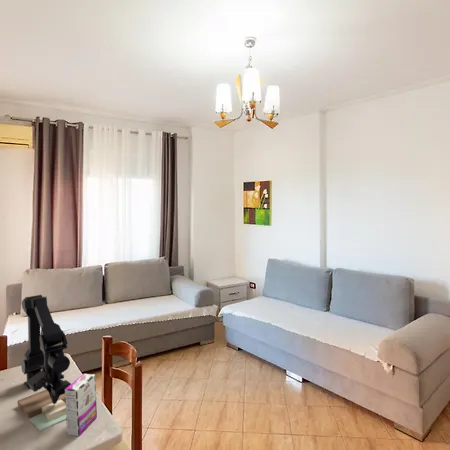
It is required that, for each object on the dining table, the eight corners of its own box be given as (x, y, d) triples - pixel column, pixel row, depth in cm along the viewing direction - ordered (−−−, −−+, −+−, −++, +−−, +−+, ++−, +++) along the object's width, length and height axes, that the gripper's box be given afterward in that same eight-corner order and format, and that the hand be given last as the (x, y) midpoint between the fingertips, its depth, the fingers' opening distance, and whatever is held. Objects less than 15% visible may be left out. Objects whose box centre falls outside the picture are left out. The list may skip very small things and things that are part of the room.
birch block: (42, 413, 131) (41, 407, 131) (61, 405, 136) (60, 399, 136) (49, 421, 126) (49, 414, 126) (69, 412, 131) (69, 406, 131)
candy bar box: (85, 415, 130) (83, 372, 129) (97, 417, 129) (96, 374, 128) (65, 435, 119) (64, 388, 118) (78, 437, 118) (77, 390, 117)
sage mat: (29, 419, 128) (29, 418, 128) (72, 400, 140) (72, 399, 140) (40, 431, 121) (40, 430, 121) (85, 410, 133) (84, 409, 133)
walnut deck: (17, 406, 136) (17, 400, 136) (59, 390, 148) (59, 384, 148) (29, 419, 128) (29, 412, 128) (72, 400, 140) (72, 394, 140)
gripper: (20, 362, 131) (22, 403, 132) (39, 379, 119) (41, 423, 120) (51, 353, 139) (52, 391, 140) (72, 367, 127) (74, 409, 128)
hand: (54, 403), depth 132 cm, fingers closed
